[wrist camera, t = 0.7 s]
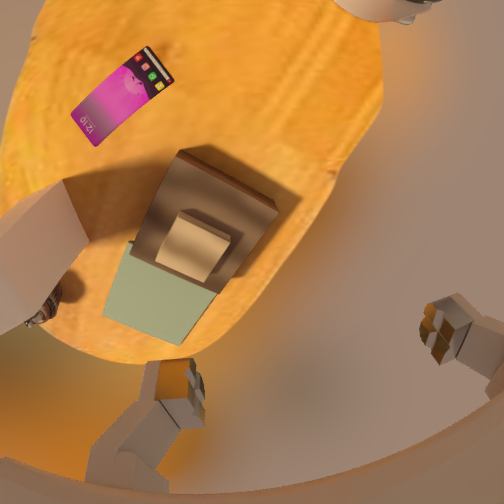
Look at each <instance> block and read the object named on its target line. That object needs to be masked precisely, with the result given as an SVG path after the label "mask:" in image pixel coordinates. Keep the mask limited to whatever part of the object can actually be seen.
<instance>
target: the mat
mask: <svg viewBox="0 0 504 504" xmlns="http://www.w3.org/2000/svg"><path fill="white" fill-rule="evenodd" d="M132 246H133V242H131V241H129V242H128V244H127V247H126V249H125V252H124V254H123V257H122V259H121V262H120V265H119V267H118V270H117V273H116V275H115V278H114V281H113V284H112V287H111V289H110V292H109V295H108V298H107V301H106V304H105V308H104V311H103V314H102V315H103V316H105V317H108V318H110V319H112V320H114V321H117V322H119V323H121V324H124V325H126V326H129V327H131V328H133V329H136V330H138V331H141V332H143V333H146V334H148V335H151V336H153V337H156V338H159V339H161V340H164V341H167V342H169V343H172V344H175V345H178V346H179V345H180V344H181V342H182V341H183V340H184V338H185V337H186V335H187V334H188V333H189V331H190V330H191V328H192V327H193V326H194V324H195V323H196V322H197V320H198V319H199V317H200V316H201V315H202V313H203V312H204V310H205V309H206V308H207V306H208V305H209V304H210V302H211V301H212V299H213V298H214V297H215V295H216V294H217V293H214V292H212V291H209V290H207V289H205V288H202V287H200V286H198V285H195V284H193V283H191V282H188V281H186V280H184V279H182V278H179V277H177V276H175V275H173V274H170V273H168V272H166V271H164V270H161V269H159V268H157V267H155V266H153V265H150V264H148V263H146V262H144V261H142V260H140V259H137V258H135V257H133V256H131V255H129V253H130V250H131V248H132Z"/></svg>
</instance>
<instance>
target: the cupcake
mask: <svg viewBox="0 0 504 504" xmlns="http://www.w3.org/2000/svg"><path fill="white" fill-rule="evenodd" d="M61 296H62V291H61V288H60V286H59V284H58V283H57V285H56V286H55V288H54V289H53V290H52V292H51V293H50V295H49V296H48V298H47V299H46V301H45V302H44V304H43V305H42V307H41V308H40V309H39V311H38V312H37V313H36V314H35V315H34V316H32V317H31V318H29V319H28V320H26V321H24V322H25V325H26V326H28V327H30V328H31V327H32V326H33V324H41V323H45V322H46V321H47V320H48V319H51V318H52V319H53V317H55V315H56V314H57V309H58V305H59V302H60V299H61Z"/></svg>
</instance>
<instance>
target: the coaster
mask: <svg viewBox="0 0 504 504" xmlns="http://www.w3.org/2000/svg"><path fill="white" fill-rule="evenodd" d="M229 244H230V235H228V234H226V233H224V232H222V231H220V230H218V229H216V228H214V227H212V226H210V225H208V224H206V223H204V222H202V221H200V220H198V219H196V218H194V217H192V216H190V215H188V214H186V213H184V212H182V211H179V213H178V215H177V217H176V218H175V220H174V222H173V224H172V226H171V228H170V230H169V232H168V234H167V236H166V238H165V240H164V241H163V243H162V245H161V247H160V249H159V251H158V253H157V256H156V259H155V261H156V262H158V263H161V264H163V265H165V266H167V267H169V268H172V269H174V270H176V271H178V272H181V273H183V274H185V275H187V276H190V277H192V278H194V279H196V280H199V281H201V282H203V283H204V281H205V280H206V278H207V277H208V275H209V274H210V272H211V271H212V269H213V268H214V266H215V265H216V263H217V262H218V260H219V259H220V257H221V256H222V254H223V253H224V252H225V250H226V249H227V247H228V246H229Z"/></svg>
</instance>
